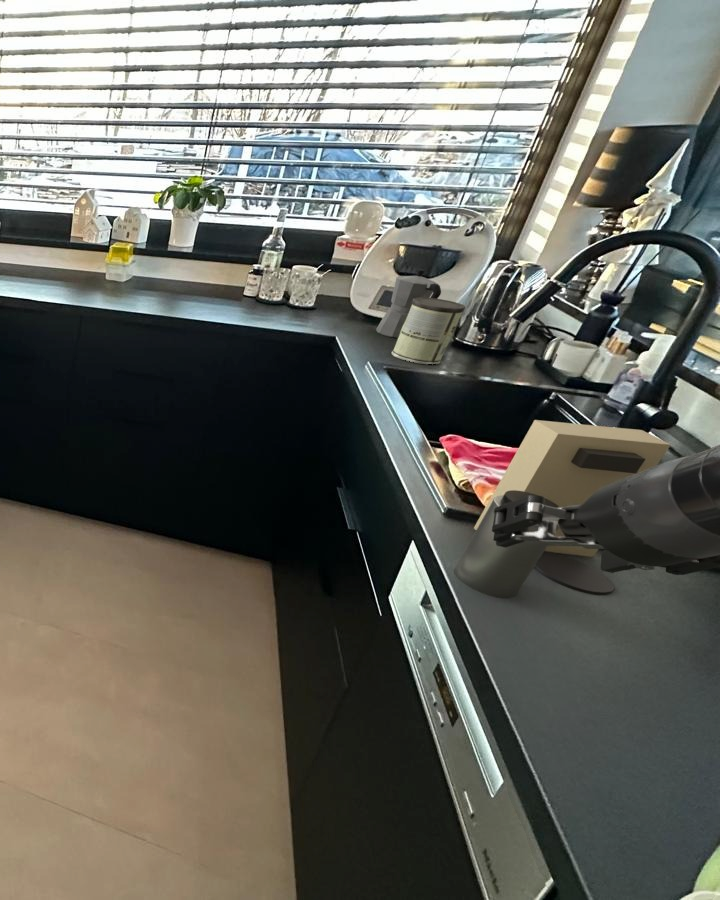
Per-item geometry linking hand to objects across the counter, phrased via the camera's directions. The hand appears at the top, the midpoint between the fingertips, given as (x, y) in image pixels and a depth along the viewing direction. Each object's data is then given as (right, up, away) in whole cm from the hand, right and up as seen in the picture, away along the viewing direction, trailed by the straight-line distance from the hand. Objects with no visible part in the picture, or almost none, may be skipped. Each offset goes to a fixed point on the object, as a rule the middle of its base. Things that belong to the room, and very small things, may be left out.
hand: (551, 549), depth 64 cm
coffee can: (+60, +33, +93) cm, 115 cm away
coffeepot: (+69, +42, +110) cm, 137 cm away
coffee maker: (+16, -5, +16) cm, 23 cm away
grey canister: (+3, -7, +12) cm, 14 cm away
